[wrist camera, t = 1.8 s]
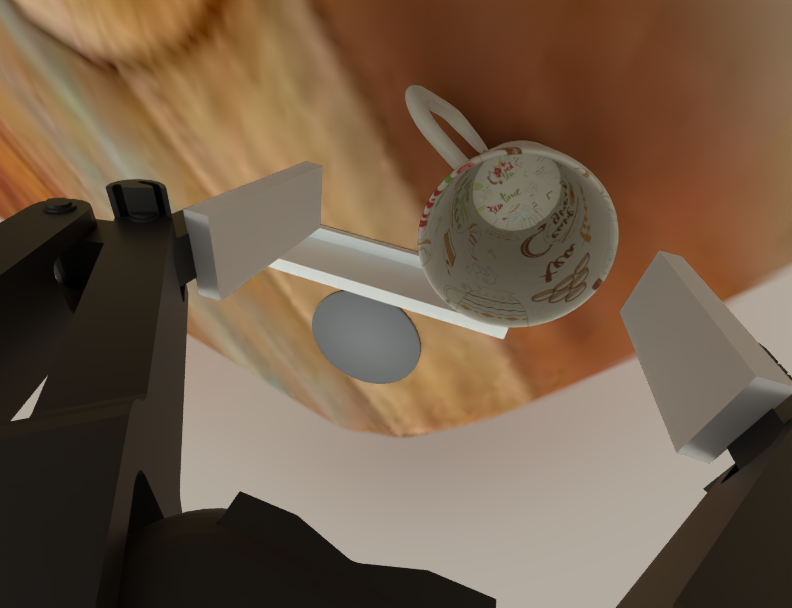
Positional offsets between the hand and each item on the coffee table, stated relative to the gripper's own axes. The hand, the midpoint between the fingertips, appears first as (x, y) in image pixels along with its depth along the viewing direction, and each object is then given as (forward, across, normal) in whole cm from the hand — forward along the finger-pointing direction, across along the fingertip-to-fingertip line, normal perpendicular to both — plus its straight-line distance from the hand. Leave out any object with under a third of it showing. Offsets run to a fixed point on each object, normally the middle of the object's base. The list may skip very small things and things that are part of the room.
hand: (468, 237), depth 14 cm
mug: (+12, 0, +1) cm, 12 cm away
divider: (+12, -5, -8) cm, 15 cm away
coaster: (+12, -7, -17) cm, 22 cm away
